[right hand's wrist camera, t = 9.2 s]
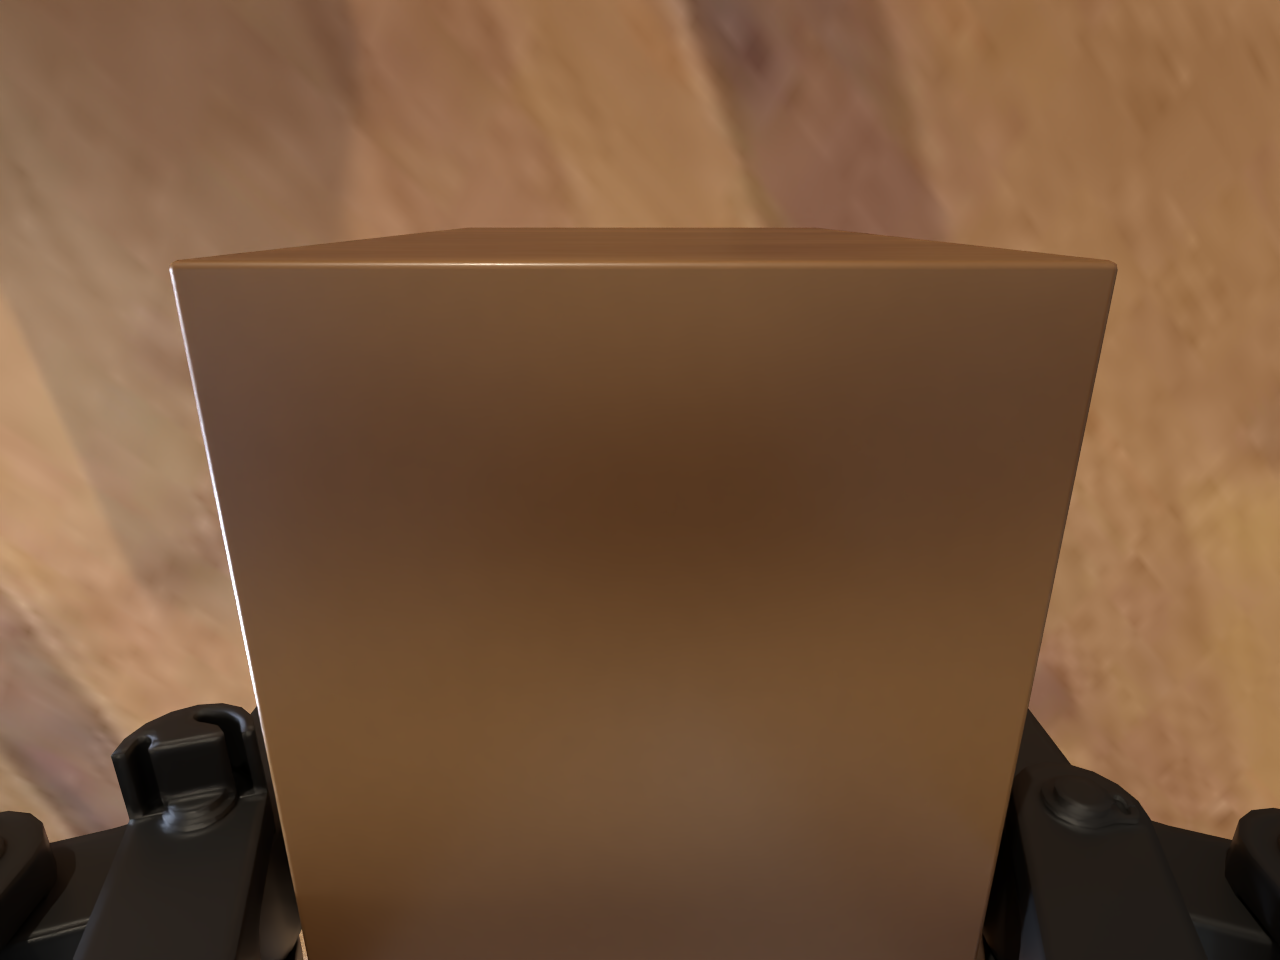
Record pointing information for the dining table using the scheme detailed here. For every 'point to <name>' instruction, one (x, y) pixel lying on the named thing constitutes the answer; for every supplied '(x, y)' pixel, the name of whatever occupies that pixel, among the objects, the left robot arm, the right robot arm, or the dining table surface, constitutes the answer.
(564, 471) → the beam
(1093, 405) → the dining table surface
